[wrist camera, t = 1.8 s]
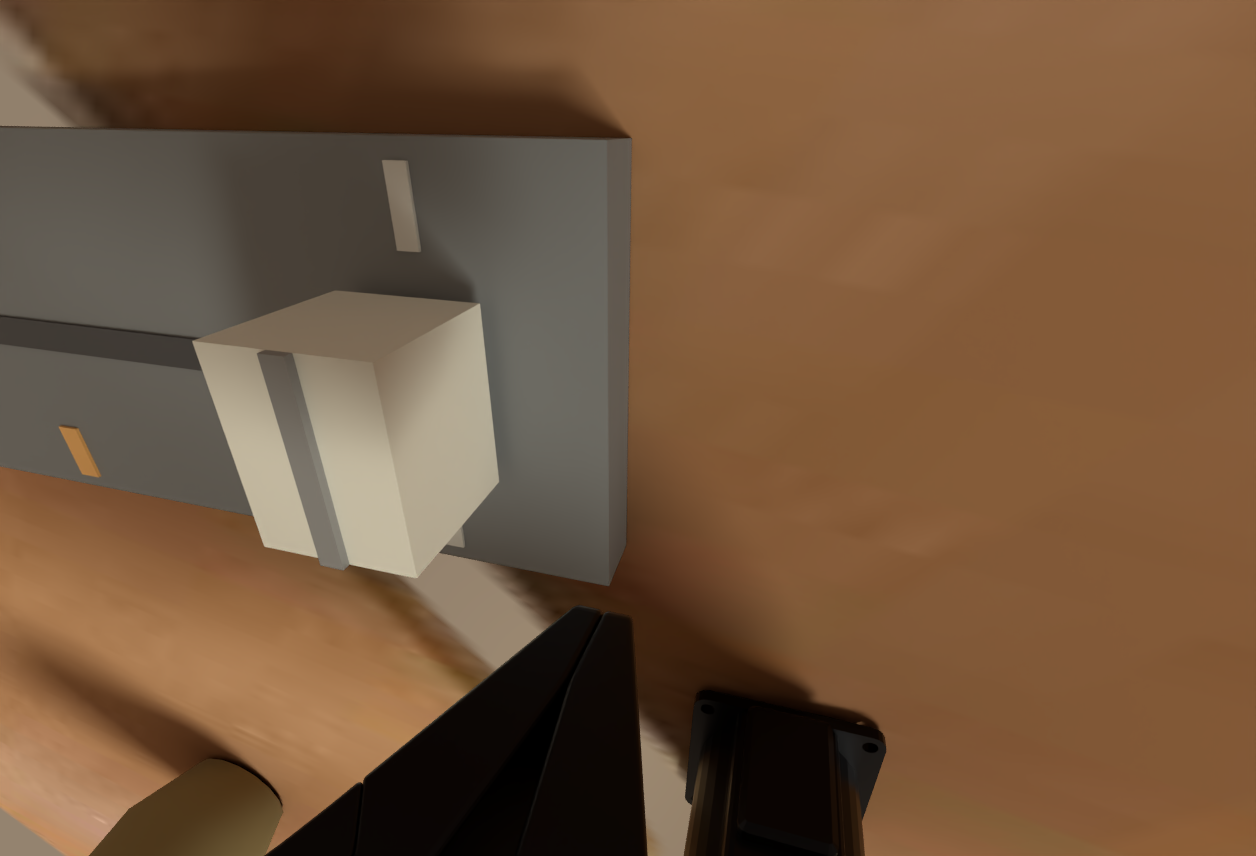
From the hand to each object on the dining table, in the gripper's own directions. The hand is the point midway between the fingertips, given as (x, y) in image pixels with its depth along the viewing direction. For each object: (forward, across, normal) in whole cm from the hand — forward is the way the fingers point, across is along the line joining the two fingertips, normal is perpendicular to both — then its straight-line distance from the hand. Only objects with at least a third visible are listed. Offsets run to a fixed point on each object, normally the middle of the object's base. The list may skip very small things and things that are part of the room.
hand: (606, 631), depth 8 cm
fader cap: (+6, +7, 0) cm, 10 cm away
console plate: (+9, +15, 0) cm, 18 cm away
